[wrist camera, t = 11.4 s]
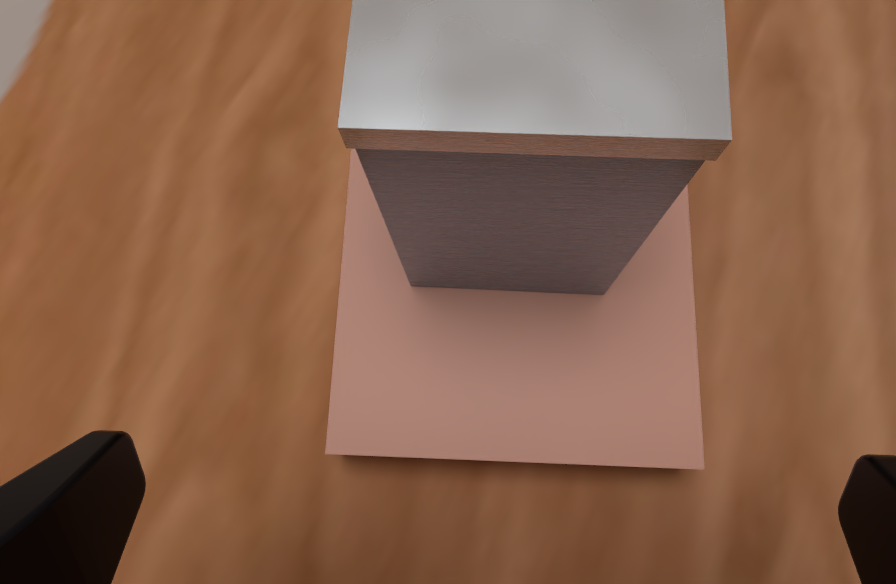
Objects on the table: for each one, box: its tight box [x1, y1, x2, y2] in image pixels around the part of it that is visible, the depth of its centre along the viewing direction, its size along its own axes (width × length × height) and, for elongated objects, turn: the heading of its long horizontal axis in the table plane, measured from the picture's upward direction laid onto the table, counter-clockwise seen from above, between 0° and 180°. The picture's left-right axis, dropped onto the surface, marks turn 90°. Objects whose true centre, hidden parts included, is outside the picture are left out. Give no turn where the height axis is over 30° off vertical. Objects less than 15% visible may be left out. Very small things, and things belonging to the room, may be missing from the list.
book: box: [325, 148, 704, 470], centre depth 22 cm, size 11×16×3 cm
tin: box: [338, 0, 732, 295], centre depth 16 cm, size 6×6×10 cm
